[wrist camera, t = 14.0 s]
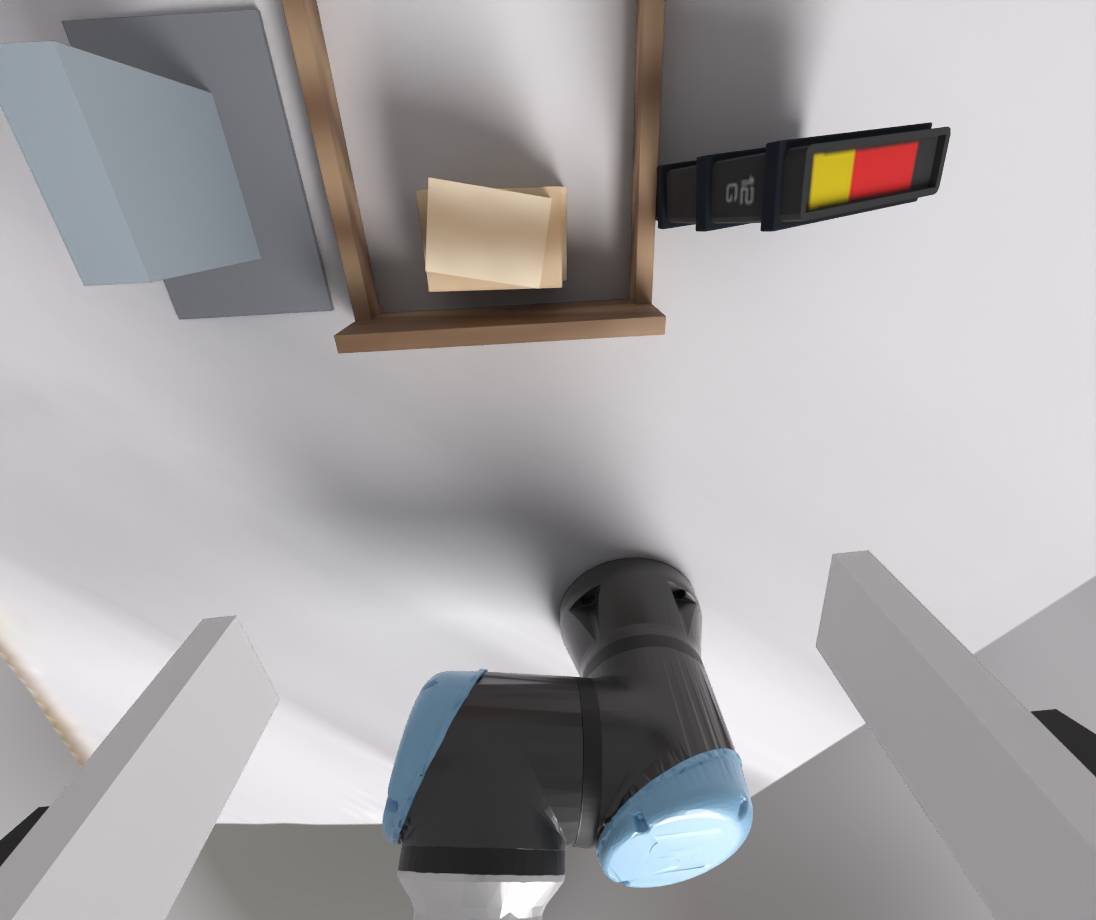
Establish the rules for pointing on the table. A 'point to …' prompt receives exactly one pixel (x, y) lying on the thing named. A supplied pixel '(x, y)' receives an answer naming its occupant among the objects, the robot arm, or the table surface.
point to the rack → (482, 322)
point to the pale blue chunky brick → (125, 164)
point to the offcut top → (486, 233)
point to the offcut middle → (456, 283)
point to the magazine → (803, 179)
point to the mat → (231, 153)
